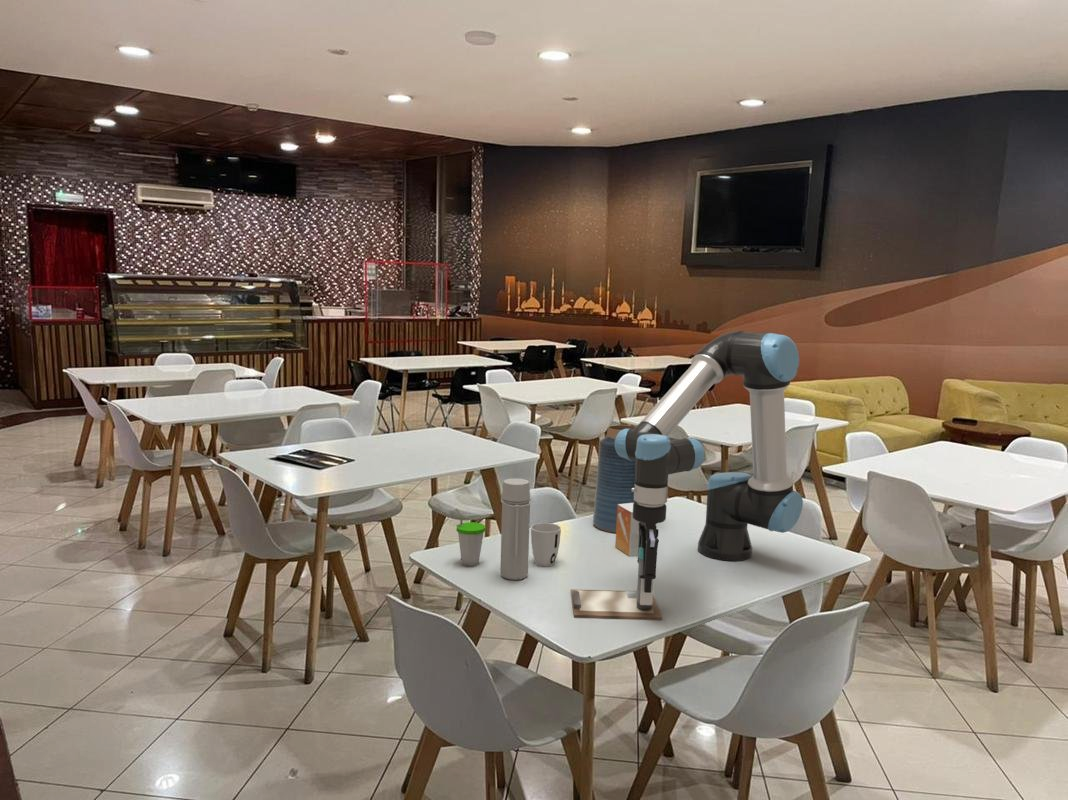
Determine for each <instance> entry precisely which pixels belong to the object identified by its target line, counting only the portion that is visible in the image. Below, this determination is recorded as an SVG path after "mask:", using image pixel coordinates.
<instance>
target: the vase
mask: <svg viewBox="0 0 1068 800" xmlns="http://www.w3.org/2000/svg"><path fill="white" fill-rule="evenodd" d="M636 427H637V426H633V425H624V424H614V425H613V424H612V425H609V426H607V431H606V436H604V437H603V438H602V439H600V440H599V441H598V446H599V447H598V457H597V460H598V461H597V467H596V468H597V471H596V481H595V482H596V483H595V491H594V495H595V496H594V504H593V505H594V508H593V516H592V524H593V525H594V526H595V527H596V528H597V529H599V530H601V531H603V532H604V531H605V532H608V533H614V534H616V524H617V505H618V504H625V503H634V502H635V500H634V492H632V488H635V486H634V485H635V461H630V460H628V459H625V458H623V457H620V456H619V455H618V454H617V452H616V450H615V439H616V436H617V434H618V433H619V432H620V431H621V430H623V429H635V428H636Z"/></svg>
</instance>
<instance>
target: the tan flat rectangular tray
mask: <svg viewBox="0 0 1068 800" xmlns="http://www.w3.org/2000/svg"><path fill="white" fill-rule="evenodd" d="M570 597H571V606H572V612H573V614H572V615H573V618H575V619H576V618H578V619H579V618H581V619H585V618H586V619H618V620H619V619H621V620H653V621H654V620H656V621H657V620H659V621H660V620H661V621H662V620H663V616H662V614H661V611H660V609H659V606H658V603H657V601H656V598H655V595H653V600H652V609H651V610H640V609H638V608H637V607H636V605H637V590H610V589H609V590H607V589H606V590H605V589H603V590H602V589H572V588H571V589H570Z"/></svg>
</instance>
